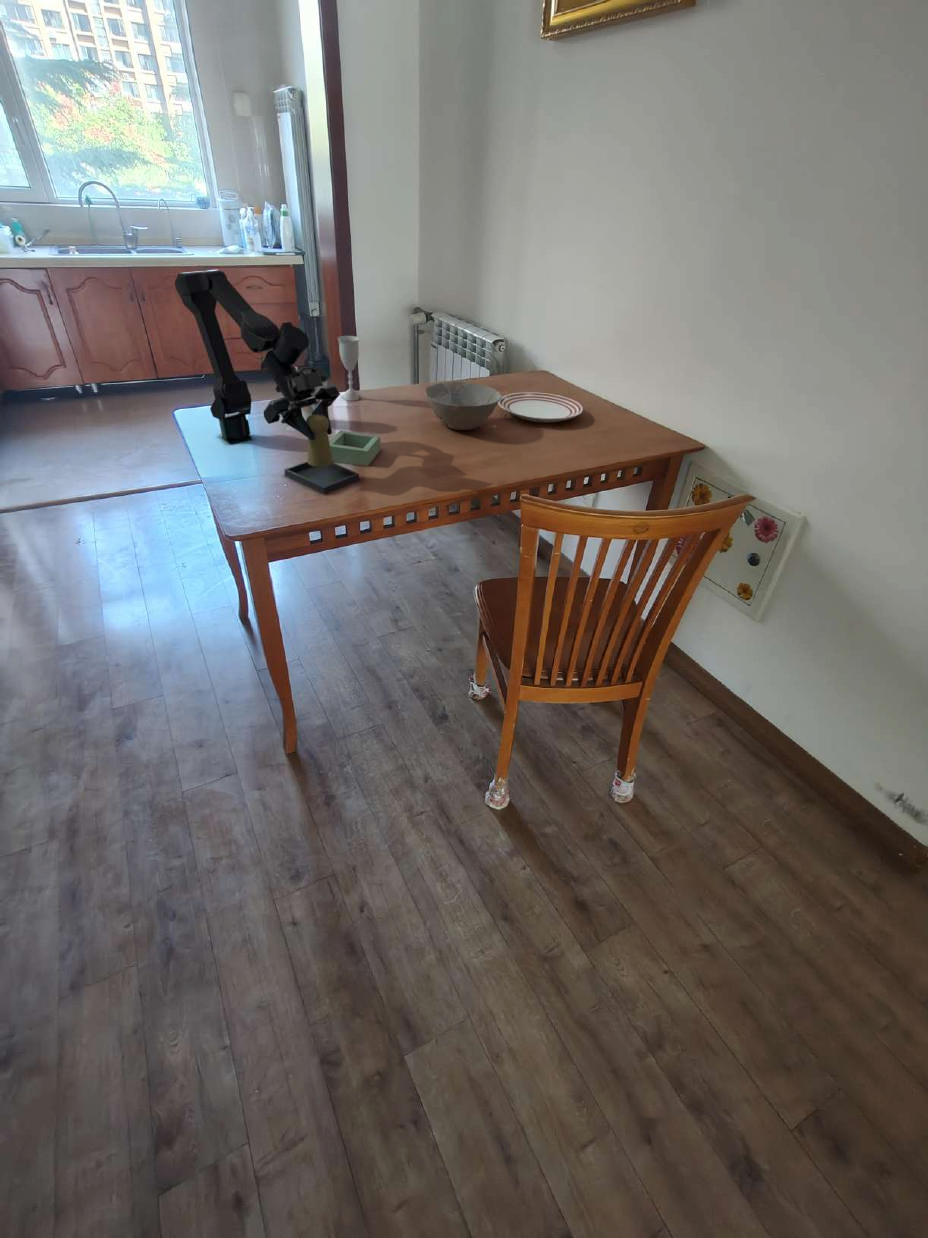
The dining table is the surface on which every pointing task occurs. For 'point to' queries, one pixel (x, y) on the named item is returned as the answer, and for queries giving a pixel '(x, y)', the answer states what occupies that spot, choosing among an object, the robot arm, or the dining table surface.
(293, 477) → the tray
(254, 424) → the dining table surface
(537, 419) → the dinner plate
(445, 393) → the ceramic bowl
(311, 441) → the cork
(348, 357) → the chalice
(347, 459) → the caddy
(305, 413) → the coffee cup
